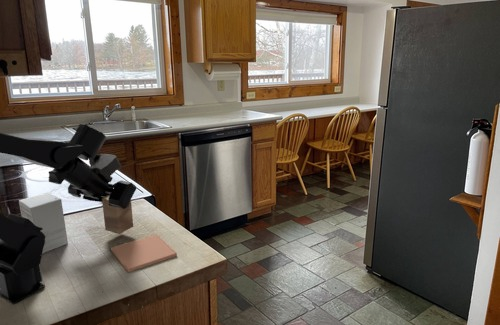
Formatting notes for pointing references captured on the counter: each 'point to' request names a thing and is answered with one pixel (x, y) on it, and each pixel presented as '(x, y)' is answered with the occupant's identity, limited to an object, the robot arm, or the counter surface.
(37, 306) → the counter surface
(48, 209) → the supplement box
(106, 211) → the walnut block
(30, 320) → the counter surface
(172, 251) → the terracotta mat
